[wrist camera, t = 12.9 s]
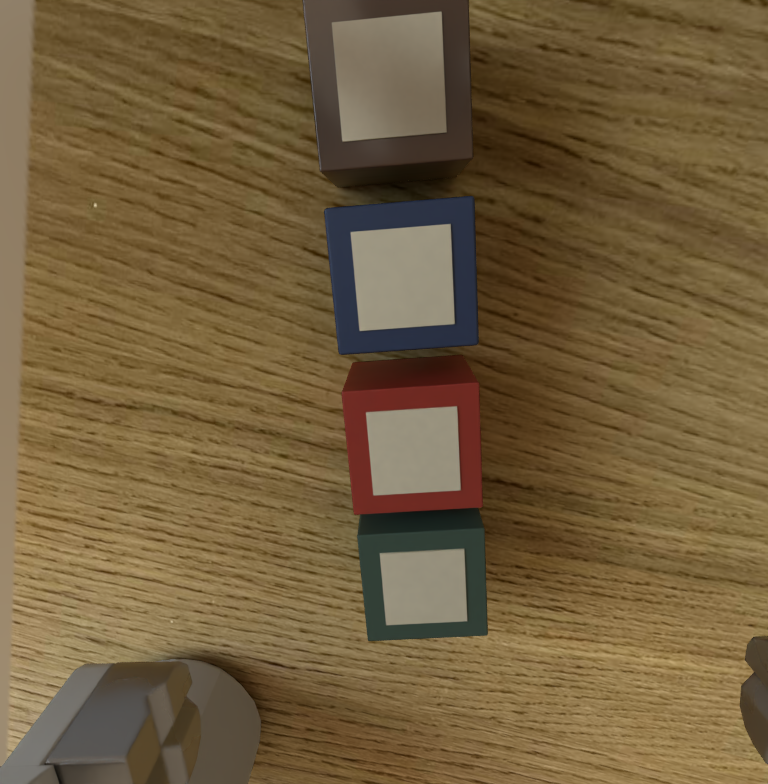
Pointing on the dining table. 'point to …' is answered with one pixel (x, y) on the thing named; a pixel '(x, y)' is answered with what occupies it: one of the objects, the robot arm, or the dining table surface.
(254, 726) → the can
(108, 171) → the dining table surface
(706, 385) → the dining table surface
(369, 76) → the walnut letter block
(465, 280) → the navy letter block
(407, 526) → the slate green letter block
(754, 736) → the robot arm
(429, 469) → the red letter block
